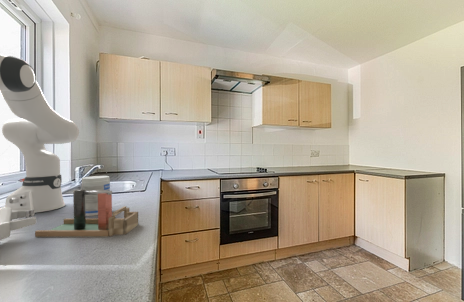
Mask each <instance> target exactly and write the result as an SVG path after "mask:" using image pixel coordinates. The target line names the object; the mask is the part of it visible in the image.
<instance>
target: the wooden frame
mask: <svg viewBox="0 0 464 302" xmlns="http://www.w3.org/2000/svg"><path fill="white" fill-rule="evenodd" d="M121 213H123V218H124V219H115V218H116V216H118V215H119V214H121ZM138 225H139V211H130V207H127V206H126V205H124V206H122V207H120V208H118V209H117V210H114V211H112V216H111V217H110V218H109V236H108V237H113V236H114V235H115V236H117V235H120V236H121V235H122V236H123V235H127V234H128V233H130V232H131V231H132V230H134V229H135V228H136V227H137V226H138Z"/></svg>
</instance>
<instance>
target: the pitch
mask: <svg viewBox="0 0 464 302" xmlns="http://www.w3.org/2000/svg"><path fill="white" fill-rule="evenodd" d="M115 219H124V217H122V218H116V217H115ZM34 232H35V233H34V235H35V236H34V237H36V238H37V237H38V238H39V237H40V238H44V237H46V238H48V237H52V238H53V237H55V238H56V237H57V238H60V237H64V238H65V237H66V238H68V237H69V238H71V237H72V238H73V237H75V238H76V237H77V238H78V237H79V238H83V237H84V238H85V237H87V238H88V237H89V238H94V237H96V238H97V237H100V238H104V237H107V238H108V237H110V236H109V228H108V229H107V230H98V218H86V227H85V228H83V229H79V230H74V218H64V219H63V223H62V224H60V225H57V226H55V227H53V228H51V229H49V230H48V229H45V230H43V229H42V230H40V229H38V230H35V231H34Z"/></svg>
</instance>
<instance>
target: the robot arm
mask: <svg viewBox="0 0 464 302" xmlns="http://www.w3.org/2000/svg"><path fill="white" fill-rule="evenodd" d="M0 94H1V96H2V98H3V100H4V102H6V105H7V106H8V107H9V110H10V111H11V112H12V113H13V114H14V116H16V117H18V118H13V119H12V118H11V119H8V120H6V121H5V122H4V123H3V124H2V128H1V132H2V136H3V137H4V138H5V139H6V140H7V141H8V142H10V143H11V144H14V145H15V146H16V147H17V148H18V149H19V151H20V152H21V154H22V155H23V158H24V163H25V173H26V174H25V177H24V178H20V179H19V182H21V183H22V184H21V186H20V187H18V188H17V190H14V191H13V192H12V193H10V194H9V195H7V197H6V198H5V204H4V205H5V206H4V207H0V241H1V240H5V239H7V238H8V239H9V238H10V236H11V232H12V231H18V230H20V229H23V228H26V227H29V226H34V225H36V224H37V217H36V216H35V213H42V212H43V213H44V212H49V211H53V210H57V209H60V208H64V207H65V206H66V203H65V201H64V197H63V192H62V180H63V178H62V174H61V159H60V157H59V156H58V155H57V154H55V153H54V152H51V151H48V150H47V149H46V147H45V145H61V144H62V145H63V144H68V143H69V144H70V143H73V142H75V141H76V140H77V139H78V138H79V133H80V130H79V127H78V125H77V124H76V123H75V122H74V121H72V120H70V119H67V118H66V117H63V116H62V115H60V114H59V113H58V112H56V111H55V110H54V109H53V108H52V107H51V106H50V104H49V103H48V101H47V99H46V97H45V95H44V94H43V91H42V89H41V87H40V85H39V83H38V81H37V75H36V72H35V69H34V68H33V67H32V66H31V64H29V63H28V62H27V61H26V60H24V59H22V58H19V57H16V56H13V55H12V56H11V55H8V56H7V55H4V54H0ZM21 218H22V219H21Z"/></svg>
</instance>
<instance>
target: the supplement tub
mask: <svg viewBox="0 0 464 302" xmlns="http://www.w3.org/2000/svg"><path fill="white" fill-rule="evenodd" d="M110 179H111V178H110V176H109V175H95V176H92V175H91V176H85V177H82V178H81V184H80V185H81V189H85V191H111V183H110V182H111V180H110ZM85 213H86V216H87V217H88V216H89V217H93V216H98V195H85Z"/></svg>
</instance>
